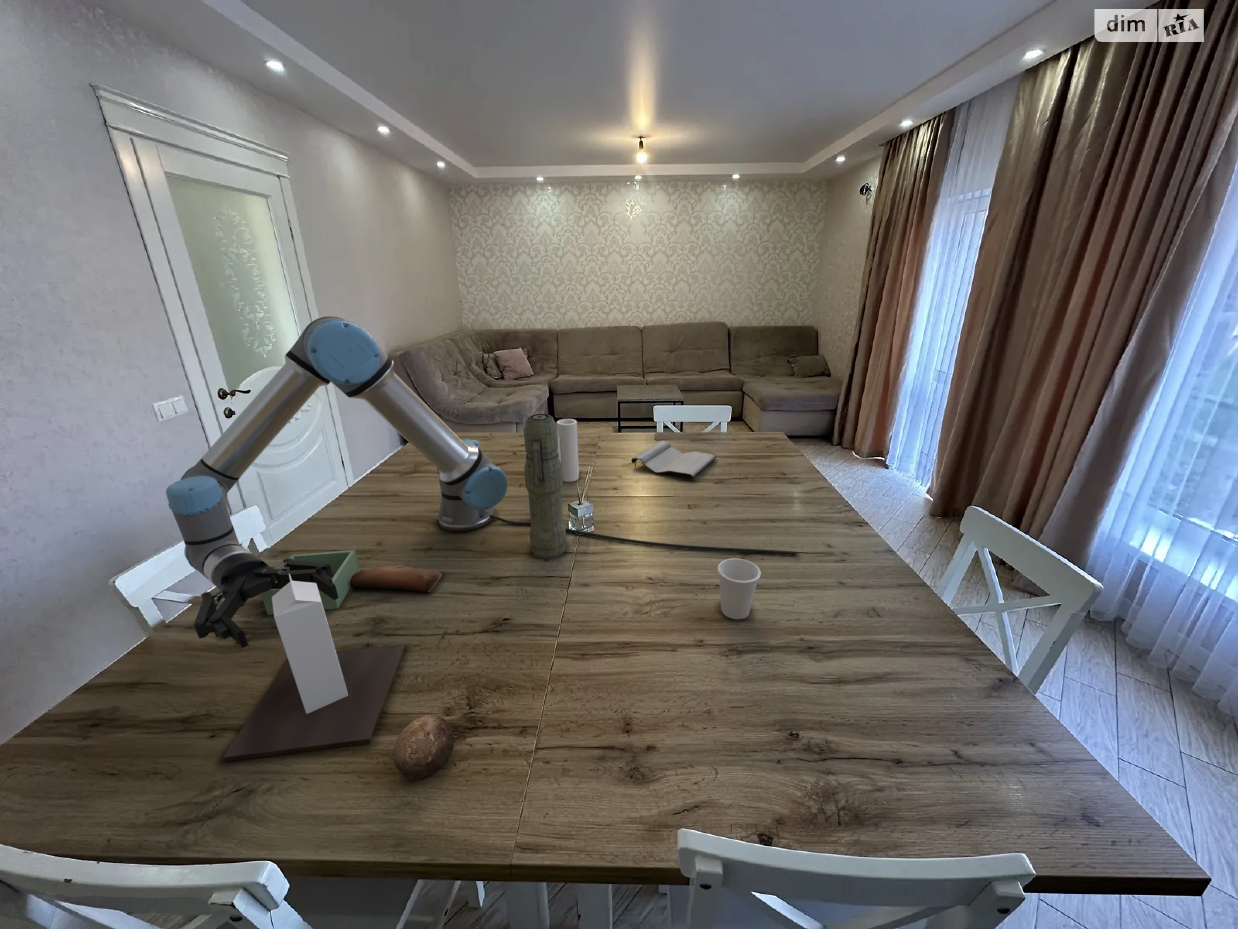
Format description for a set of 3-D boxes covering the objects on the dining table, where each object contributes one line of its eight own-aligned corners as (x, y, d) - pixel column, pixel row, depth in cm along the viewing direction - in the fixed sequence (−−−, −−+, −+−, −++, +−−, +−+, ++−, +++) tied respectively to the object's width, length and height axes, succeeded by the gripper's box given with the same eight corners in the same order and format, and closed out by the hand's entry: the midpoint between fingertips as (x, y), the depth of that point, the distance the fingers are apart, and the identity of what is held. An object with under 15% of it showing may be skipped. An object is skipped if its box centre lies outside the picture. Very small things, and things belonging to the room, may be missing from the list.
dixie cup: (732, 628, 95) (736, 586, 91) (706, 604, 102) (709, 564, 98) (764, 615, 98) (769, 574, 95) (737, 593, 105) (741, 554, 102)
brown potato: (406, 713, 73) (408, 706, 69) (458, 724, 75) (463, 717, 70) (384, 775, 68) (384, 771, 63) (440, 785, 70) (444, 782, 65)
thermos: (567, 536, 128) (560, 409, 115) (564, 561, 117) (556, 423, 104) (534, 537, 128) (523, 409, 115) (528, 562, 117) (515, 424, 104)
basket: (360, 571, 114) (355, 549, 112) (337, 608, 101) (331, 584, 99) (298, 576, 112) (291, 554, 110) (267, 615, 100) (259, 591, 97)
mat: (693, 482, 161) (693, 469, 159) (631, 469, 172) (631, 457, 170) (716, 460, 179) (717, 448, 178) (659, 450, 190) (659, 438, 189)
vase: (579, 473, 168) (577, 418, 161) (578, 482, 162) (576, 424, 154) (546, 474, 168) (542, 419, 160) (544, 483, 161) (540, 425, 154)
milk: (306, 715, 76) (266, 600, 68) (302, 690, 80) (264, 579, 72) (349, 695, 79) (316, 584, 71) (343, 673, 84) (311, 565, 75)
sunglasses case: (444, 571, 113) (434, 558, 108) (435, 600, 109) (424, 588, 103) (372, 567, 115) (358, 554, 109) (360, 596, 110) (345, 584, 105)
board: (405, 648, 91) (404, 643, 90) (370, 743, 72) (369, 738, 72) (291, 660, 88) (289, 655, 88) (224, 762, 70) (222, 757, 69)
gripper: (313, 558, 100) (370, 593, 88) (157, 626, 81) (204, 683, 69) (304, 526, 97) (362, 558, 86) (140, 589, 78) (186, 641, 67)
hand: (291, 614), depth 77 cm, fingers open, 13 cm apart
